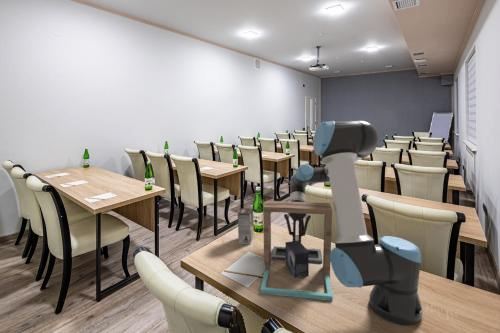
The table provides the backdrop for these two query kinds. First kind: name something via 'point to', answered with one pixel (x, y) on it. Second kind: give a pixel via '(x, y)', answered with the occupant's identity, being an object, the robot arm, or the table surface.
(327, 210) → the tunnel
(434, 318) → the table surface
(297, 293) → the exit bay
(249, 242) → the coffee box
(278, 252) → the pit plate
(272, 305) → the table surface
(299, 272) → the small box
